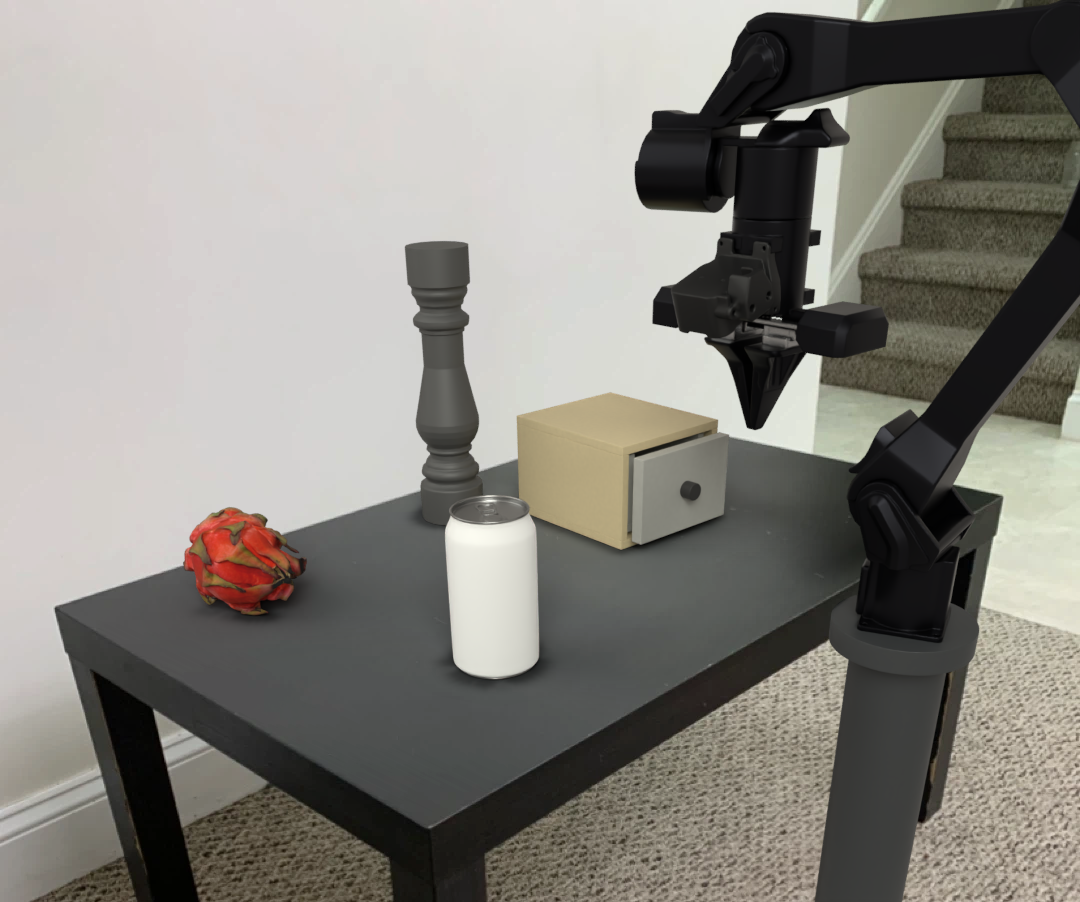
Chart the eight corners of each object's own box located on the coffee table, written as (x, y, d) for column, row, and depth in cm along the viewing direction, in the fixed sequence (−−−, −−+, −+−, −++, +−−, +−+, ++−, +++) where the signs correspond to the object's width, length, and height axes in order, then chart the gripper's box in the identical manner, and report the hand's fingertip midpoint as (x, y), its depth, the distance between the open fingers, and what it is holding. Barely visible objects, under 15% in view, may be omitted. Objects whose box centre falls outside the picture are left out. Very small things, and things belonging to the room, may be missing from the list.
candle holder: (496, 510, 110) (485, 242, 98) (460, 529, 106) (444, 251, 93) (446, 500, 113) (429, 239, 100) (410, 518, 109) (387, 247, 96)
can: (463, 687, 79) (453, 529, 72) (445, 648, 84) (435, 498, 78) (549, 674, 80) (546, 518, 74) (527, 637, 85) (522, 488, 79)
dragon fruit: (216, 594, 97) (299, 651, 91) (139, 567, 90) (223, 627, 84) (258, 509, 97) (345, 561, 90) (184, 475, 89) (272, 529, 83)
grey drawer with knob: (733, 517, 105) (739, 437, 101) (650, 548, 98) (653, 463, 94) (625, 482, 114) (626, 407, 110) (543, 508, 108) (541, 429, 104)
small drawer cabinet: (712, 516, 108) (718, 419, 103) (621, 550, 101) (623, 447, 96) (609, 482, 117) (610, 392, 112) (519, 510, 110) (516, 415, 105)
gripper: (604, 217, 82) (602, 425, 90) (807, 238, 69) (784, 477, 77) (704, 204, 88) (694, 400, 96) (907, 222, 76) (876, 445, 83)
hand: (754, 428), depth 88 cm, fingers closed
